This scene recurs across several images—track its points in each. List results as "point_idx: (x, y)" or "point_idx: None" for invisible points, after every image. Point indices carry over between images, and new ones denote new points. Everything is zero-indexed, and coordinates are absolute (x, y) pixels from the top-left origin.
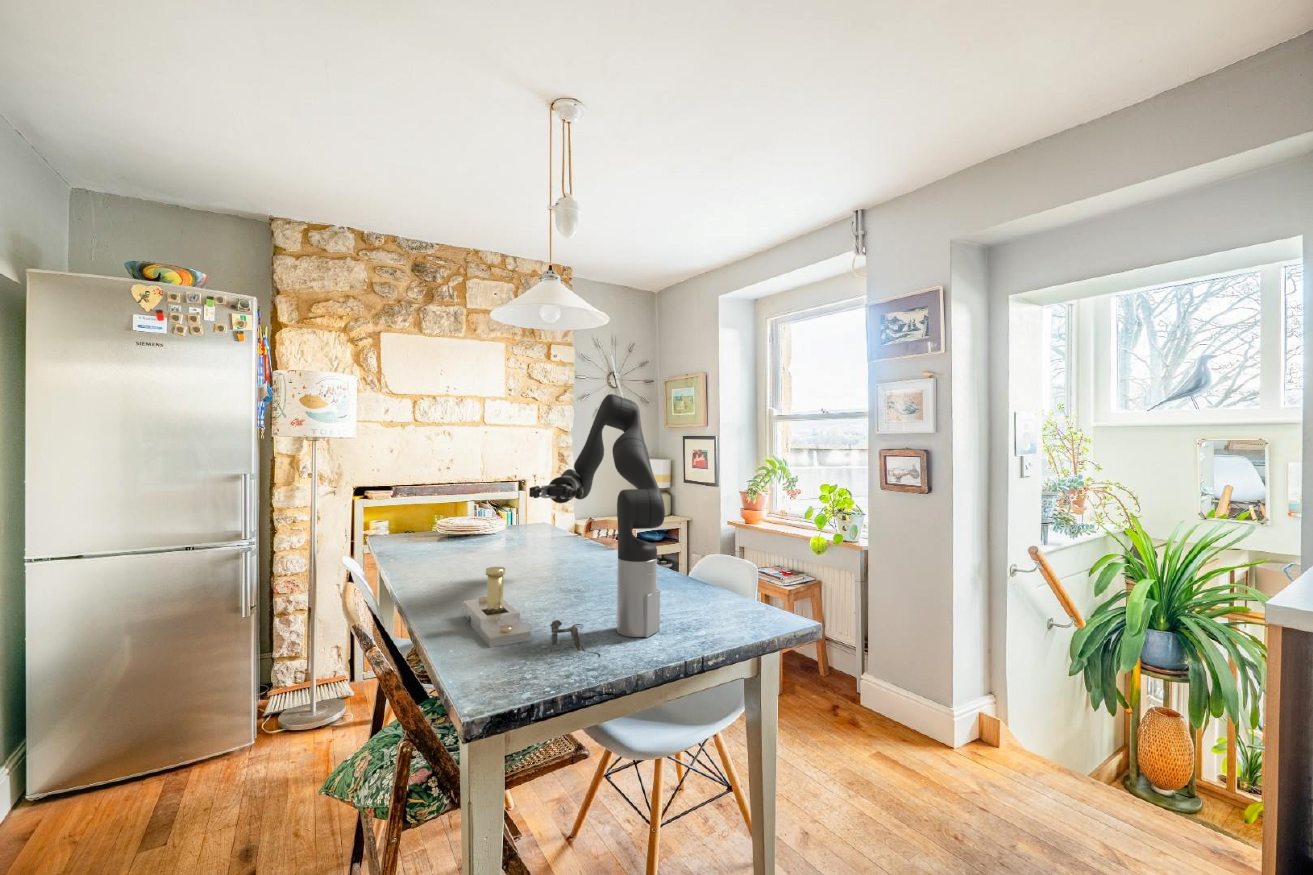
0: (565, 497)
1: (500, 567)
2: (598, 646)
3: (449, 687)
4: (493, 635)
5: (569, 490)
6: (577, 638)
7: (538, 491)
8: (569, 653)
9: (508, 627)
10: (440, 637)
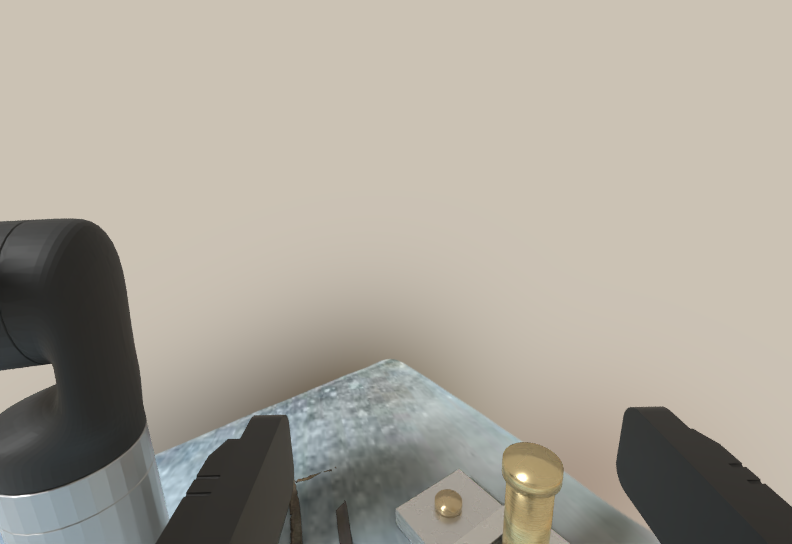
0: (292, 471)
1: (528, 476)
2: None
3: (442, 388)
4: (460, 480)
5: (223, 477)
6: (293, 537)
7: (700, 509)
8: (310, 475)
9: (443, 498)
10: (592, 518)
